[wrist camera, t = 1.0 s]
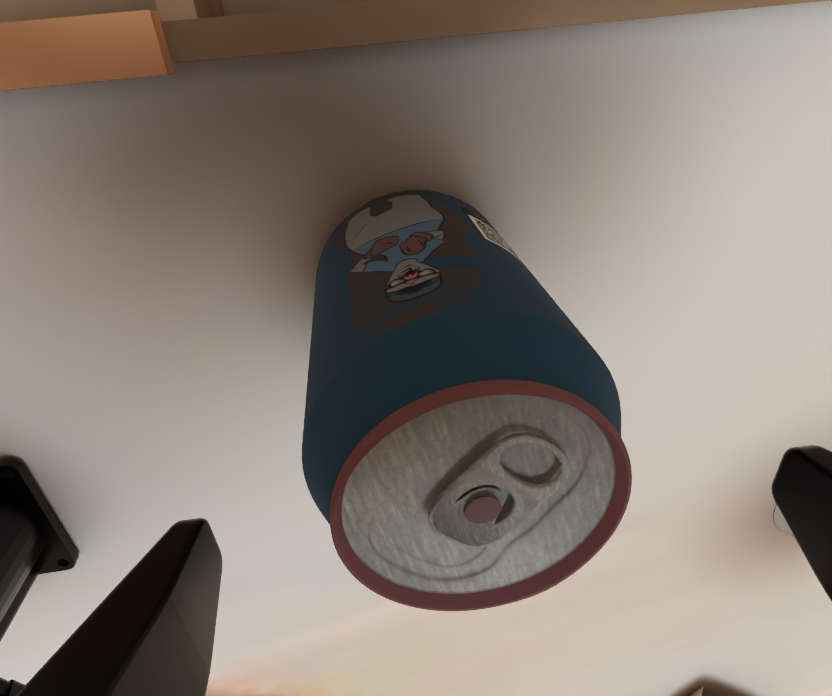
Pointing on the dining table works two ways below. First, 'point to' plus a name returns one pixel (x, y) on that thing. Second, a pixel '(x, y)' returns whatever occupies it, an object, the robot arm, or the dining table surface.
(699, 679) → the dining table surface
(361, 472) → the soda can
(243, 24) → the rack
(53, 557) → the robot arm
